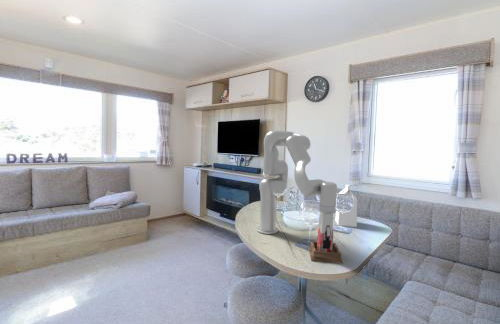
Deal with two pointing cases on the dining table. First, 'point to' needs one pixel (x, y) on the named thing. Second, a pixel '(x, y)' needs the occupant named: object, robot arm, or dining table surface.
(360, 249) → the dining table surface
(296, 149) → the robot arm
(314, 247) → the brown wooden tray
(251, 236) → the dining table surface
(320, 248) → the soda can
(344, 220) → the milk
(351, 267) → the dining table surface
